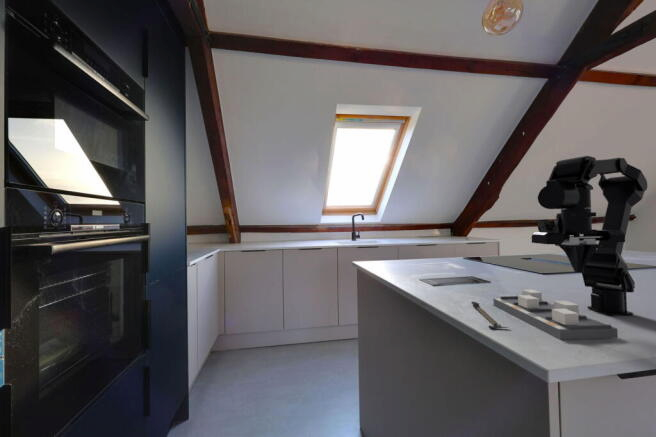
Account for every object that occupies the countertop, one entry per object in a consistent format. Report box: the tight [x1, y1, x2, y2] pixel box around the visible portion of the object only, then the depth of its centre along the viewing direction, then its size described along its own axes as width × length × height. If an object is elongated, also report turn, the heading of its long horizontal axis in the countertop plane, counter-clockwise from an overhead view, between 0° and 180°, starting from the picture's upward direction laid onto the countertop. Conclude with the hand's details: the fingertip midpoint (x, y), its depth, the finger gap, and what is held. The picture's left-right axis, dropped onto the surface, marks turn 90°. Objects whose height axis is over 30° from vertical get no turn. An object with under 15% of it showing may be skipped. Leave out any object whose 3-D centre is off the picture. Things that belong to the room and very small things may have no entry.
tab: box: [517, 294, 539, 308], centre depth 77 cm, size 3×4×2 cm
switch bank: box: [492, 295, 619, 341], centre depth 74 cm, size 12×25×3 cm, turn 0°
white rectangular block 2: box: [553, 300, 580, 315], centre depth 71 cm, size 3×4×2 cm
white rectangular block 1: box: [521, 289, 543, 301], centre depth 83 cm, size 3×4×2 cm
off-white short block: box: [552, 309, 579, 325], centre depth 65 cm, size 3×4×2 cm
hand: (577, 272), depth 72 cm, fingers closed
